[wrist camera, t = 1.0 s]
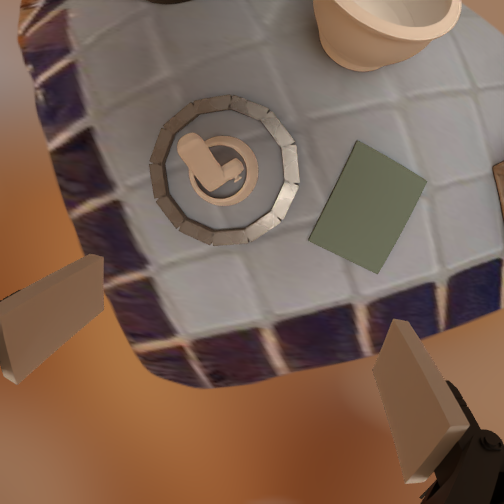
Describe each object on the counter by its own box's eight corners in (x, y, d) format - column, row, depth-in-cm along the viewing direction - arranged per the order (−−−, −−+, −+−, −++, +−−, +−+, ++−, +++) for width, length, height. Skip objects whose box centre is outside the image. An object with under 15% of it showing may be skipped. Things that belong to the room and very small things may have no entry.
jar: (391, 95, 28) (455, 66, 14) (298, 64, 28) (301, 6, 14) (408, 18, 24) (464, -40, 10) (320, -13, 25) (331, -91, 11)
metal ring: (185, 79, 30) (182, 77, 29) (323, 133, 31) (323, 133, 30) (137, 208, 36) (133, 209, 35) (260, 264, 36) (259, 268, 35)
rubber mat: (356, 140, 30) (357, 140, 30) (425, 180, 30) (427, 181, 30) (308, 239, 34) (308, 240, 34) (376, 272, 35) (377, 274, 34)
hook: (206, 75, 25) (241, 113, 23) (244, 146, 36) (275, 186, 34) (138, 121, 26) (160, 167, 23) (191, 181, 37) (216, 224, 34)
